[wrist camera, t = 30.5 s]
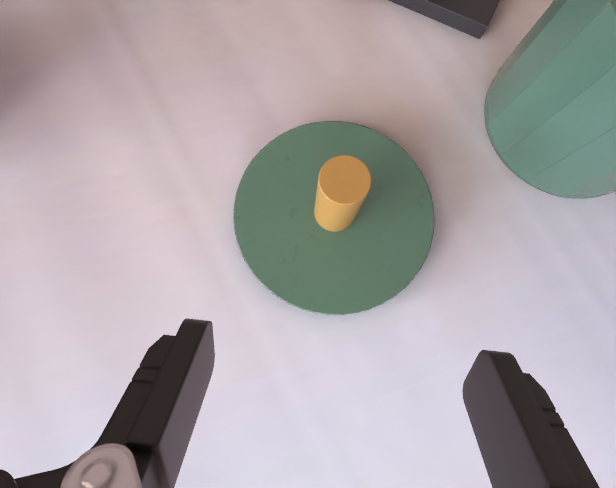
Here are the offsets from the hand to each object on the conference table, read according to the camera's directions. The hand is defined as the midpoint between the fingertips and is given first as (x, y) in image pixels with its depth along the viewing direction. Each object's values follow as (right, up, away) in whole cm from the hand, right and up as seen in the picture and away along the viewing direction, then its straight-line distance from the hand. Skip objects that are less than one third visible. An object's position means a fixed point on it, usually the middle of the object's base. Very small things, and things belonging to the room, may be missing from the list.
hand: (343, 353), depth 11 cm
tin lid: (+1, +5, +13) cm, 14 cm away
